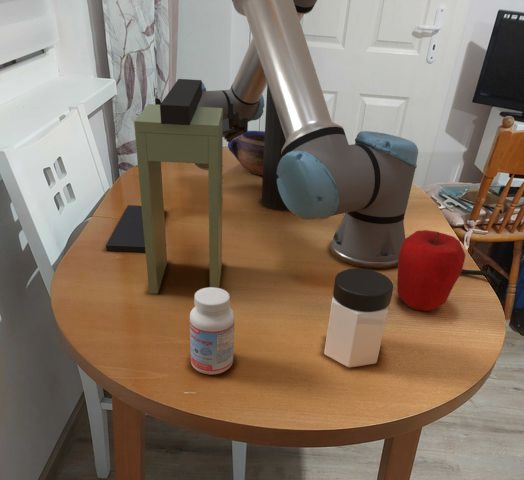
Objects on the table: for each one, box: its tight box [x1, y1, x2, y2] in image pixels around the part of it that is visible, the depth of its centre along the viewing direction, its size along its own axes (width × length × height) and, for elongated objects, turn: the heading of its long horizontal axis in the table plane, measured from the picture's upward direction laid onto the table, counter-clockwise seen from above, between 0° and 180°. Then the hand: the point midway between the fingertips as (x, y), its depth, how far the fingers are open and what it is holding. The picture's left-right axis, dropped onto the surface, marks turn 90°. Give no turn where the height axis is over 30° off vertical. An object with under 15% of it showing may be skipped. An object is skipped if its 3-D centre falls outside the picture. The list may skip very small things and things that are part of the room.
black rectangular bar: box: [160, 78, 203, 125], centre depth 81 cm, size 22×4×2 cm, turn 1°
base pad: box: [105, 204, 146, 253], centre depth 111 cm, size 22×8×1 cm, turn 1°
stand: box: [133, 103, 224, 295], centre depth 87 cm, size 12×12×28 cm
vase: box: [260, 68, 317, 212], centre depth 120 cm, size 10×10×30 cm
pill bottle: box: [189, 286, 235, 375], centre depth 71 cm, size 6×6×11 cm
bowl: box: [227, 130, 265, 176], centre depth 146 cm, size 18×18×10 cm
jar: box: [323, 267, 394, 369], centre depth 75 cm, size 9×8×12 cm
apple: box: [396, 229, 466, 312], centre depth 87 cm, size 11×10×14 cm
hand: (194, 108), depth 96 cm, fingers open, 13 cm apart
